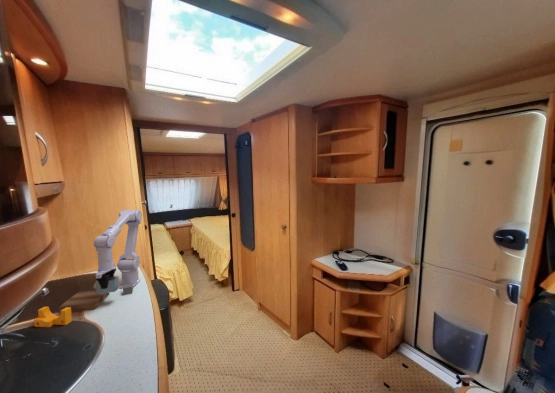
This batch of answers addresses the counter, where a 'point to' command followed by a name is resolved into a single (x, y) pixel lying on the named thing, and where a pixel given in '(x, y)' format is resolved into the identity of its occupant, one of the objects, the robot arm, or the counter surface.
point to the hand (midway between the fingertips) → (106, 286)
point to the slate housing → (112, 285)
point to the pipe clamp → (52, 317)
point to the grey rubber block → (127, 289)
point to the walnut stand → (84, 301)
